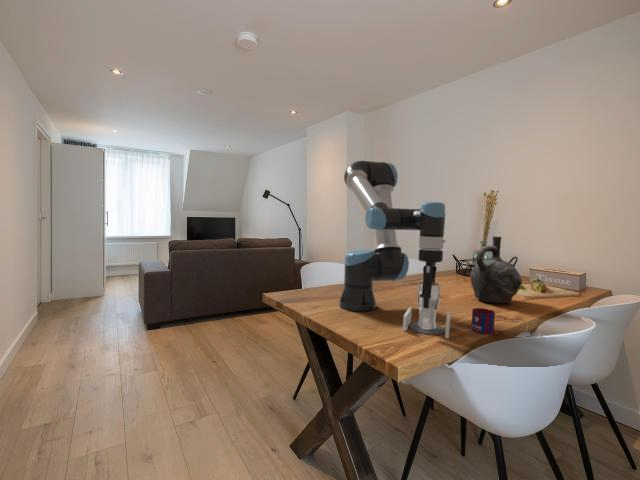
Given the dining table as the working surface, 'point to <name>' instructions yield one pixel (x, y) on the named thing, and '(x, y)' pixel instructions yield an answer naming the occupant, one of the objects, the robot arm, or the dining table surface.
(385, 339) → the dining table surface
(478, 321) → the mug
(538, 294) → the cutting board
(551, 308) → the dining table surface
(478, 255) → the vessel
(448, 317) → the low walls
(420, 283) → the beer glass
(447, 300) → the dining table surface
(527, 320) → the dining table surface
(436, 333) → the slate coaster
